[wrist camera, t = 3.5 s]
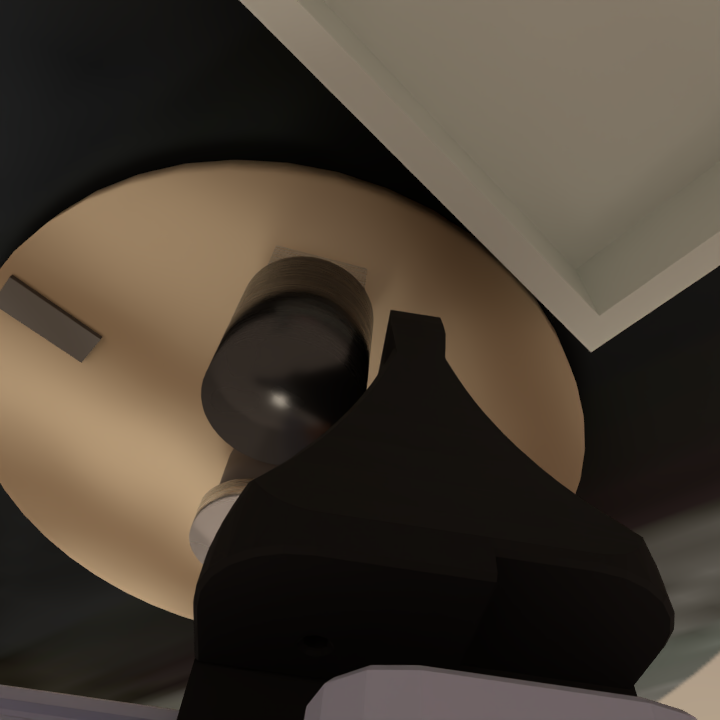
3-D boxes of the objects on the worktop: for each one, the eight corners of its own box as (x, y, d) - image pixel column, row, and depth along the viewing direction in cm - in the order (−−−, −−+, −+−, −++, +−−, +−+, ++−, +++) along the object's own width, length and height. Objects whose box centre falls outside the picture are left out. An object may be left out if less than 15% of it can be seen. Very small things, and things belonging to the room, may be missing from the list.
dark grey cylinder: (285, 625, 21) (262, 748, 18) (193, 606, 21) (153, 727, 18) (399, 259, 13) (395, 364, 10) (251, 220, 13) (196, 316, 9)
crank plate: (310, 668, 25) (301, 732, 23) (-105, 442, 19) (-166, 500, 17) (703, 461, 17) (741, 530, 15) (206, -37, 11) (161, -33, 9)
